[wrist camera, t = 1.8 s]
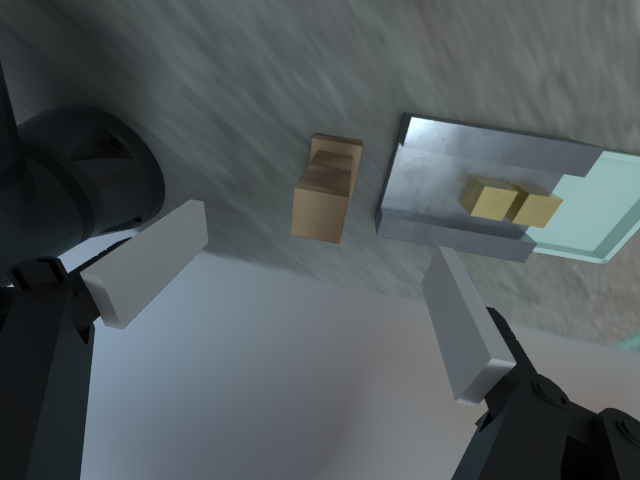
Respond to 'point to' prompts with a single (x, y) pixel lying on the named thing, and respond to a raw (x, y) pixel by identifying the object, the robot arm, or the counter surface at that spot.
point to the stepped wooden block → (325, 188)
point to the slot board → (455, 175)
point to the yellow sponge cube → (532, 206)
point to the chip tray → (594, 211)
